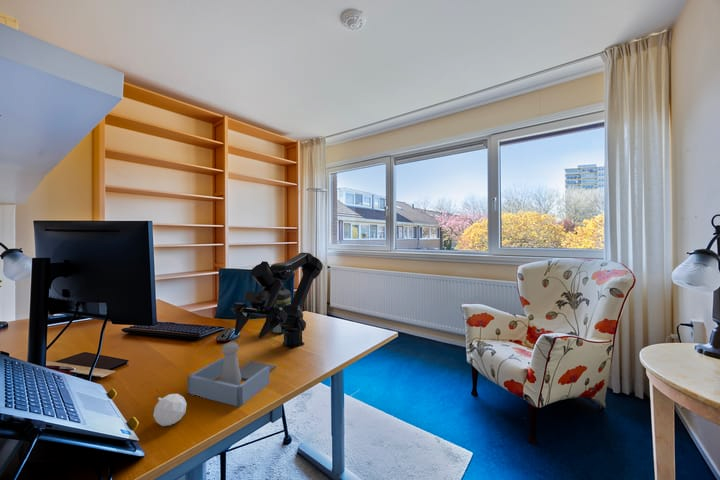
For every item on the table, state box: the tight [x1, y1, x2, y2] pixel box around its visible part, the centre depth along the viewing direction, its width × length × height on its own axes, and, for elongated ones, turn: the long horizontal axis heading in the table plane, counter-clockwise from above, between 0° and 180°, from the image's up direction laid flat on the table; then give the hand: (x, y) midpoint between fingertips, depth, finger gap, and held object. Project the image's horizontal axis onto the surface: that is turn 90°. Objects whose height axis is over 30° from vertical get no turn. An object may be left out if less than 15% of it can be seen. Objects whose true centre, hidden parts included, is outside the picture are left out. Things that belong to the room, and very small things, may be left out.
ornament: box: [152, 393, 188, 427], centre depth 70 cm, size 6×7×7 cm
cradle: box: [187, 357, 270, 408], centre depth 85 cm, size 12×18×5 cm
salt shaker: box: [219, 341, 242, 385], centre depth 85 cm, size 6×6×13 cm
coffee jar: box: [270, 288, 292, 334], centre depth 133 cm, size 10×8×19 cm
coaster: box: [239, 360, 277, 381], centre depth 95 cm, size 10×10×1 cm
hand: (247, 336), depth 91 cm, fingers open, 9 cm apart
